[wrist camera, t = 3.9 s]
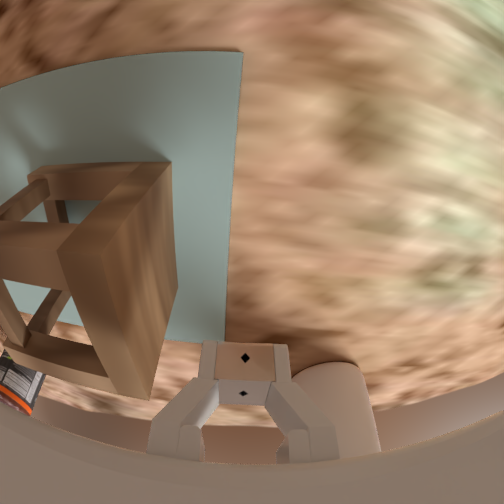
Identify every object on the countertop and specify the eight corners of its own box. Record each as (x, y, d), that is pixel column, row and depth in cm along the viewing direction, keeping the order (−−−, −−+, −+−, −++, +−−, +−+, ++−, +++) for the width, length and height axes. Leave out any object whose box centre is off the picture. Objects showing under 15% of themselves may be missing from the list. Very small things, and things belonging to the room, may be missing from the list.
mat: (243, 53, 11) (243, 52, 11) (224, 341, 22) (224, 345, 22) (-51, 112, 10) (-55, 114, 10) (2, 303, 21) (0, 305, 21)
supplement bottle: (40, 365, 27) (11, 436, 18) (8, 334, 24) (-28, 406, 15) (61, 360, 26) (29, 442, 17) (24, 325, 23) (-18, 409, 14)
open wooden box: (171, 161, 14) (100, 254, 7) (178, 287, 19) (149, 400, 12) (41, 165, 14) (-53, 238, 7) (67, 274, 18) (14, 362, 11)
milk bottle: (272, 377, 26) (279, 581, 9) (348, 348, 23) (388, 570, 7) (306, 404, 29) (319, 565, 13) (369, 380, 27) (403, 550, 10)
